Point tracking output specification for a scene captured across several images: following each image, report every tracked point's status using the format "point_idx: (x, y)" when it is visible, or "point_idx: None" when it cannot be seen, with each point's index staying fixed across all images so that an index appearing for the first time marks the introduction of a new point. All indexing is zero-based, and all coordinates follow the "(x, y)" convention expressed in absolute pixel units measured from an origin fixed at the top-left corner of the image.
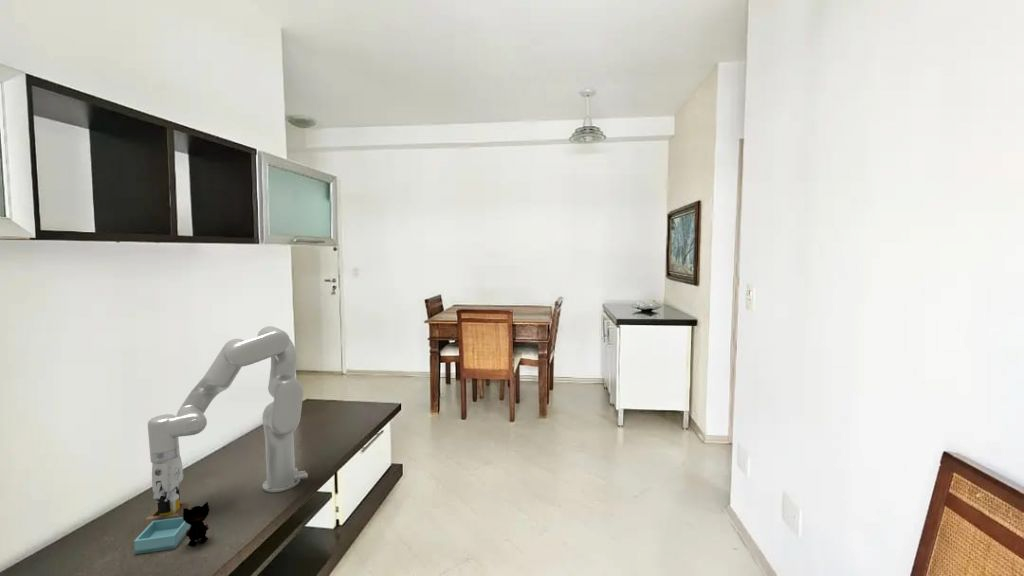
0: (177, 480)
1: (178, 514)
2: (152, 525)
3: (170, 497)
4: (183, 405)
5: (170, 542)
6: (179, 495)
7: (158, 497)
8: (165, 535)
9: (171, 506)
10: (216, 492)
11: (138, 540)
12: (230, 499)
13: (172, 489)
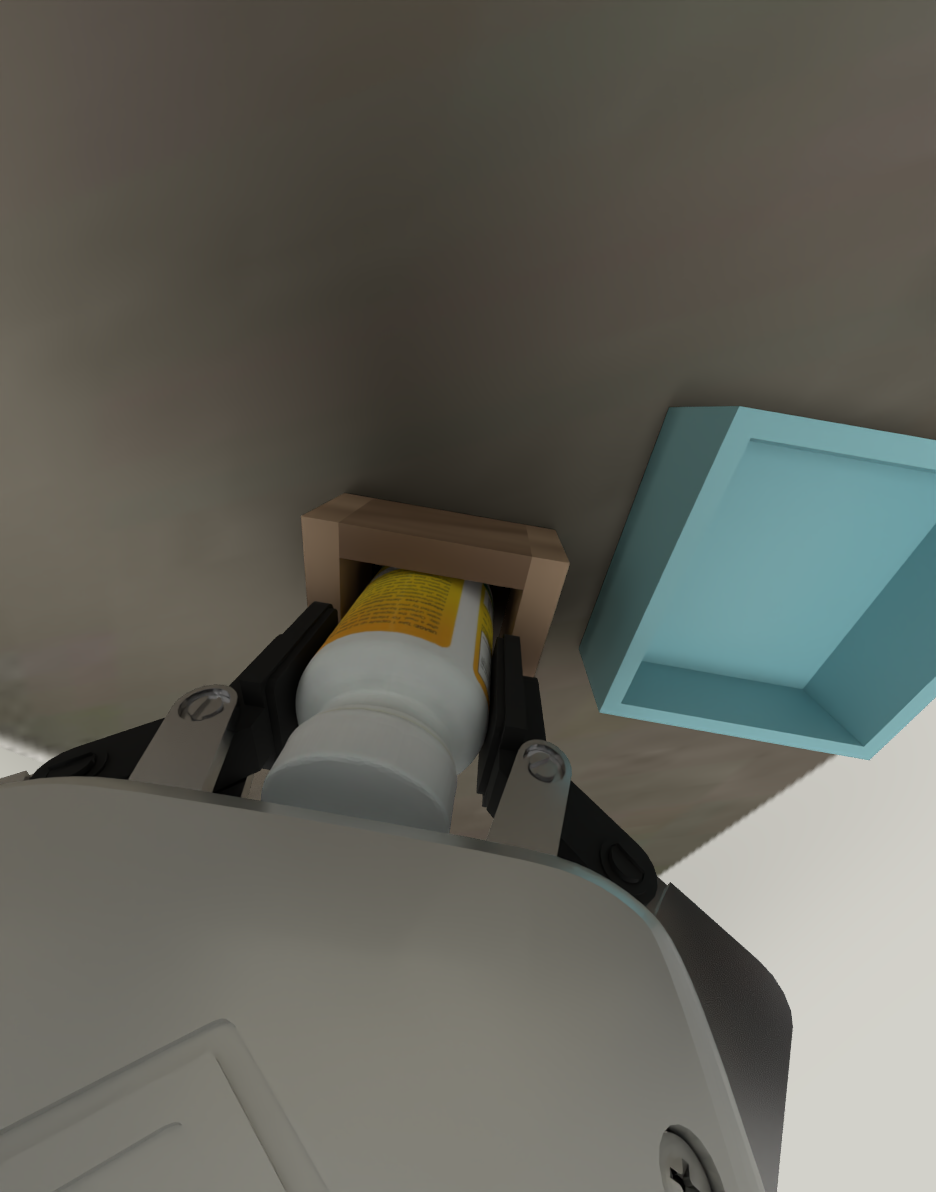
0: (235, 973)
1: (537, 554)
2: (642, 696)
3: (438, 726)
4: None
5: None
6: (285, 631)
7: (742, 962)
8: (726, 577)
9: (482, 649)
10: (26, 323)
11: (888, 739)
12: (162, 48)
13: (561, 881)
